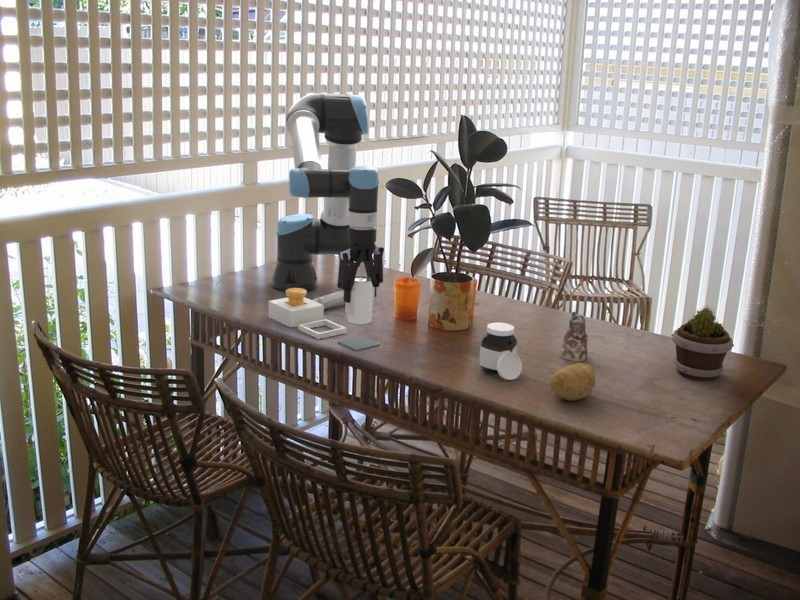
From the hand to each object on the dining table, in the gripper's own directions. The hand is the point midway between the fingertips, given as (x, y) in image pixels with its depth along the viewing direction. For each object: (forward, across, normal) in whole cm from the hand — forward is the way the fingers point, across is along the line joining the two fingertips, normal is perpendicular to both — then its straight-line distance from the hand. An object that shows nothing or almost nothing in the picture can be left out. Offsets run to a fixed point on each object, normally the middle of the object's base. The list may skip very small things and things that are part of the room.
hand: (359, 311), depth 236 cm
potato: (+10, +19, -58) cm, 62 cm away
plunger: (+8, -2, +27) cm, 28 cm away
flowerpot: (+10, +59, -67) cm, 90 cm away
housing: (+9, -2, +21) cm, 23 cm away
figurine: (+10, +42, -40) cm, 59 cm away
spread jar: (+10, +17, -37) cm, 42 cm away
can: (+3, 0, 0) cm, 3 cm away
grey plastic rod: (+10, +18, +31) cm, 37 cm away
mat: (+9, 0, 0) cm, 9 cm away
